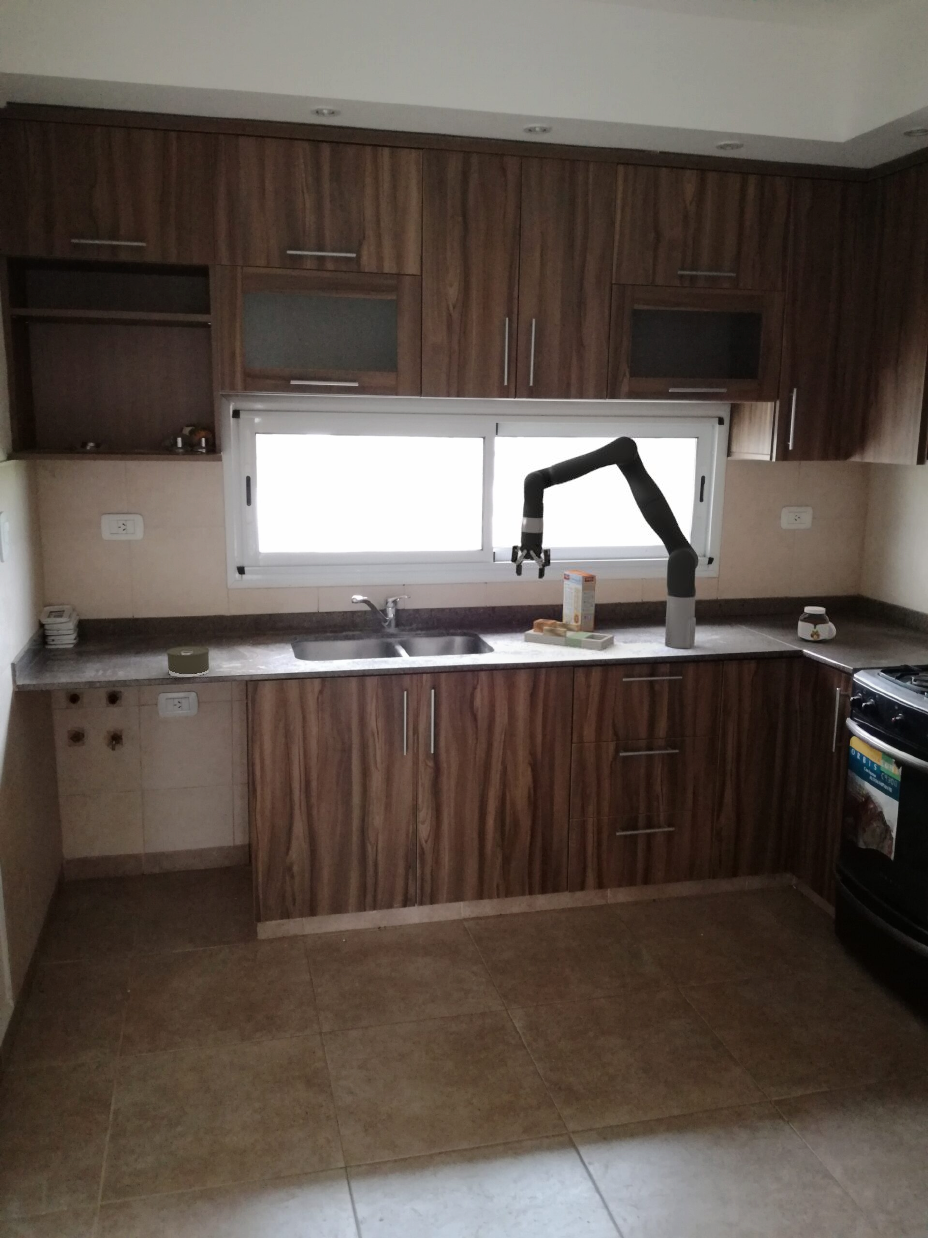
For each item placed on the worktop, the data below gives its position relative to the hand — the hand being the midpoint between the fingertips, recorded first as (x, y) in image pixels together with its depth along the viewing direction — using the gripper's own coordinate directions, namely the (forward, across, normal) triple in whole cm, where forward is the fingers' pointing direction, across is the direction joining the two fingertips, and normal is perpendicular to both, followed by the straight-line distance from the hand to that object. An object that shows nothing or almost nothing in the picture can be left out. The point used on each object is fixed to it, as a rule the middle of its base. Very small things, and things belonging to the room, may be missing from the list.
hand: (529, 577), depth 341 cm
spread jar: (+19, -85, -55) cm, 103 cm away
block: (+18, -7, 0) cm, 20 cm away
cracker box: (+21, -9, -23) cm, 32 cm away
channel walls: (+18, -13, 0) cm, 22 cm away
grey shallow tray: (+21, -16, 0) cm, 26 cm away
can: (+24, +56, +103) cm, 120 cm away
